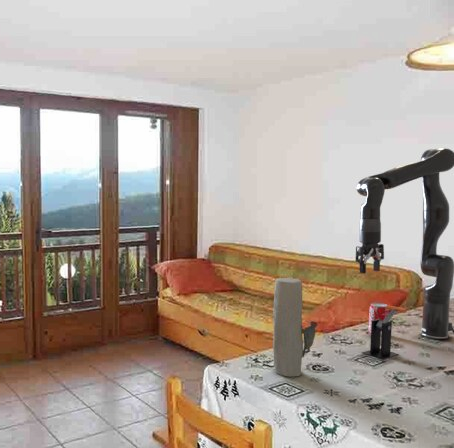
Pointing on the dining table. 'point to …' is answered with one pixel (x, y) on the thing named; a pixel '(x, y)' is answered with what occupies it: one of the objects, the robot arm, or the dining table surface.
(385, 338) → the clamp bracket
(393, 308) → the clamp lever
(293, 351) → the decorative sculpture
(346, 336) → the dining table surface
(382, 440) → the dining table surface
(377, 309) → the soda can
